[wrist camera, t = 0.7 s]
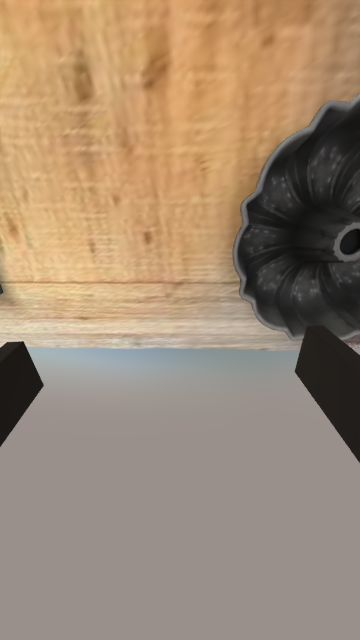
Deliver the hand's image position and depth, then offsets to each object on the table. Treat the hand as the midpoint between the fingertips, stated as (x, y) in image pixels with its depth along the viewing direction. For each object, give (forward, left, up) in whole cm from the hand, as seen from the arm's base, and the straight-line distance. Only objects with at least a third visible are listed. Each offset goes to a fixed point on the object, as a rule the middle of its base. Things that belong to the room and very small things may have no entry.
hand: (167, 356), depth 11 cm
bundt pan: (-3, +19, -27) cm, 34 cm away
